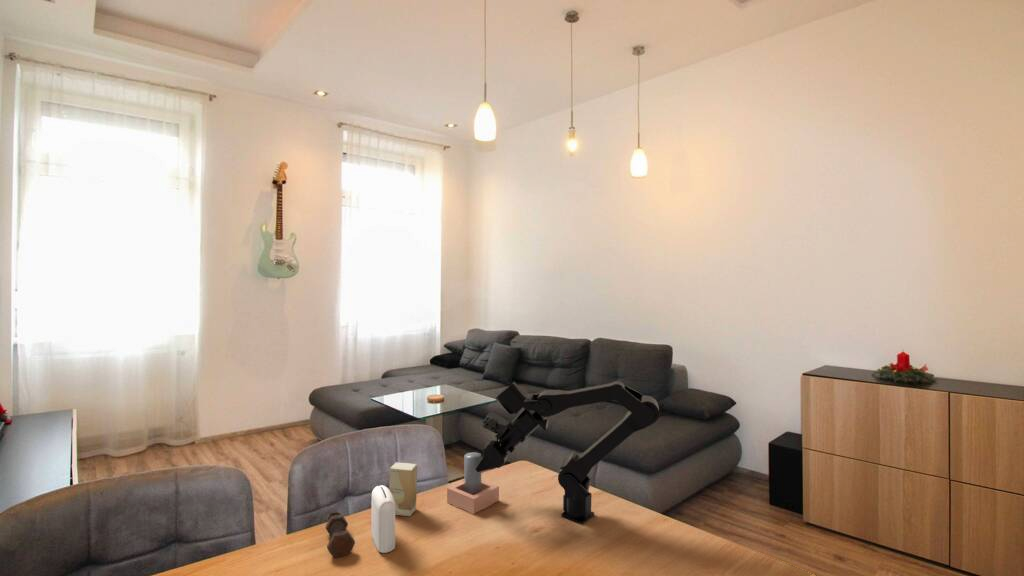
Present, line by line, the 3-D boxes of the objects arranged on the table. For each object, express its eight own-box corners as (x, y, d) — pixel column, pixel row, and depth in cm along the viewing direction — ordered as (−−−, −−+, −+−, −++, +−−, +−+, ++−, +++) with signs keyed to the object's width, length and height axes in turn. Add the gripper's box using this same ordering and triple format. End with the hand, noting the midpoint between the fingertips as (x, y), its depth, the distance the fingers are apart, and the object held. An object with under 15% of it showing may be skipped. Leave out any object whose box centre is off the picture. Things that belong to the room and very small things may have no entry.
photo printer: (369, 533, 117) (369, 482, 117) (387, 529, 119) (387, 479, 119) (377, 555, 108) (377, 500, 108) (397, 551, 110) (397, 496, 110)
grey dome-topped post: (484, 500, 133) (483, 456, 133) (468, 504, 131) (468, 459, 130) (477, 493, 137) (477, 451, 137) (462, 497, 135) (461, 454, 134)
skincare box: (387, 514, 126) (388, 467, 126) (394, 506, 131) (394, 461, 130) (411, 517, 125) (411, 469, 125) (417, 508, 130) (417, 463, 129)
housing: (498, 500, 135) (498, 486, 135) (473, 514, 127) (473, 499, 127) (472, 490, 141) (472, 476, 141) (447, 502, 133) (447, 488, 133)
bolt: (338, 532, 121) (345, 562, 108) (319, 525, 120) (323, 556, 106) (350, 509, 123) (358, 537, 109) (331, 502, 121) (337, 530, 107)
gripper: (509, 395, 140) (473, 431, 143) (490, 413, 122) (449, 453, 125) (536, 425, 139) (499, 460, 142) (521, 447, 121) (478, 487, 124)
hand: (482, 464), depth 133 cm, fingers open, 9 cm apart
